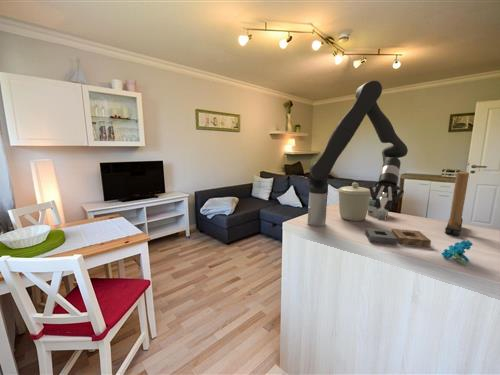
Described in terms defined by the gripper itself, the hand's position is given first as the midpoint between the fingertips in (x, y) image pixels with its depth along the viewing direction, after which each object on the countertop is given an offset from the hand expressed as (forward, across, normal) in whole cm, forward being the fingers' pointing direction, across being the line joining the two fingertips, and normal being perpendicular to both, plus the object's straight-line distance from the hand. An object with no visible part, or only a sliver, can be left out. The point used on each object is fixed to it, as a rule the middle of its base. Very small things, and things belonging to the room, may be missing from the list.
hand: (382, 208), depth 95 cm
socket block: (+9, 0, +12) cm, 15 cm away
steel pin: (+2, 0, +5) cm, 6 cm away
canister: (-8, -16, +30) cm, 35 cm away
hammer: (-15, +28, +36) cm, 48 cm away
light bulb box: (-20, -6, +41) cm, 46 cm away
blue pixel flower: (+12, +25, +9) cm, 29 cm away
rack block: (+5, +11, +16) cm, 20 cm away
